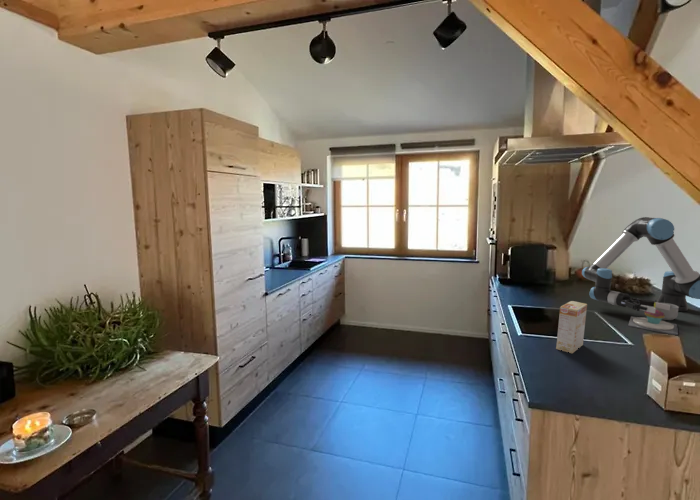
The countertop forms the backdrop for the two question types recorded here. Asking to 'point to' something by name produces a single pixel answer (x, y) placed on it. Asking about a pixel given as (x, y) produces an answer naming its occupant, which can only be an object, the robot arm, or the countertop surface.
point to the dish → (653, 325)
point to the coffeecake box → (571, 326)
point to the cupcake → (654, 316)
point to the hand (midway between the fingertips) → (662, 309)
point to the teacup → (669, 312)
